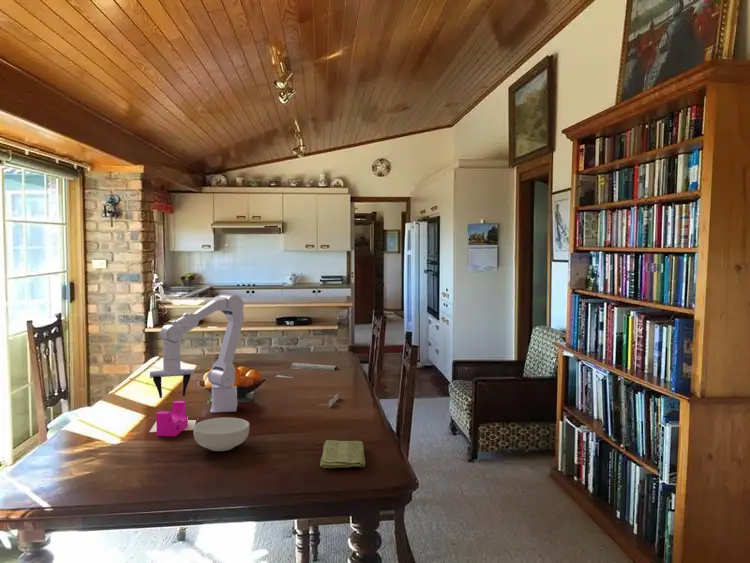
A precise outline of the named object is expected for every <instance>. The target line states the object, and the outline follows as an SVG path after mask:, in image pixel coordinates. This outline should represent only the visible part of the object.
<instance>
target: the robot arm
mask: <svg viewBox="0 0 750 563" xmlns="http://www.w3.org/2000/svg"><path fill="white" fill-rule="evenodd" d="M244 306H245V303H244V301H243V299H242V298H241V297H240V295H238V294H226V293H221V294H219V295H218V294H217V296H214V297H213V298H212V299H211V300H210V301H209V302H207V303H206V304H205V305H203V306H202V307H200V308H199V309H197V310H196V311H194V312H193V313H192V312H184V313H183V314H182V316H181V317H180V318H178V319H175V320H172V321H171V324H165V325H163V326H162V328H161V330H160V332H159V337H160V339H161V340H162V358H163V359H162V364H163V370H154V371H150V372H149V379H152V380H153V383H154V385H155V387H156V389H157V392H158V395H159V399H162V398H163V391H162V390H163V389H162V378H166V377H169V378H170V377H182V387H183V388H182V397H185V396H186V391H187V388H188V384H189V382H190V380H191V377H192V376H194V372H195V371H194V369H193V368H191V369H190V368H187V369H186V368H182V369H181V341H182V339H183V337H184V336H185V335H186V334H187V333H189V332H190V331H192V330H193V329H194V328H196V327H198V326H199V321H201V320H203V319H205V318H206V317H209V316H210V315H212V314H213V313H216V312H218V311H220V312H222V313H223V314H224V315H225V317H226V318H227V320H228V321H227V325H226V328H225V333H224V336H223V340H222V344H221V347H220V351H219V354H218V359H217V360H216V361H215V362H213V364H212V367H211V368H210V370H209V371H208V374H207V378H208V381H209V383H210V384H211V385H210V386H211V408H210V410H209V412H210V414H212V413H228V412H229V413H231V412H233V413H234V412H237V409H238V403H239V402H238V388H237V385H234V383H235V381H236V376H235V373H236V372H235V371H236V368H235V365H234V363H233V362H234V359H235V354H236V351H237V347H238V343H239V339H240V335H241V331H242V327H243V324H244V318H245V317H244Z"/></svg>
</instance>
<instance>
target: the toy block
mask: <svg viewBox="0 0 750 563" xmlns="http://www.w3.org/2000/svg"><path fill="white" fill-rule="evenodd" d="M186 403H187V402H186V400H175V401H173V402H172V408H171V411H169V410H159V411H158V412H156V416H155V417H156V421H155V422H157V432H156V437H176V436H178V435H179V434H180V433H182V432H183V431H185V430H184V429H185V428H186V427H188V417H189V416H187V406H186V405H187V404H186Z"/></svg>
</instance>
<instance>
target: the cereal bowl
mask: <svg viewBox="0 0 750 563" xmlns="http://www.w3.org/2000/svg"><path fill="white" fill-rule="evenodd" d="M192 431H193V437H194V441H195V442H196V443H197V444H198V445H199V446H201V447H203V448H205V449H208V450H210V451H211V452H226V451H230V450H232V449H234V448H235V447H237V446H240V445H241V444H242V443H244V442H245V441H246V439H247V438H248V436H249V433H250V422H249V421H248V420H246V419H243V418H239V417H227V416H226V417H213V418H208V419H204V420H201V421H198V422H196V423H195V425H194V428H193V430H192Z"/></svg>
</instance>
